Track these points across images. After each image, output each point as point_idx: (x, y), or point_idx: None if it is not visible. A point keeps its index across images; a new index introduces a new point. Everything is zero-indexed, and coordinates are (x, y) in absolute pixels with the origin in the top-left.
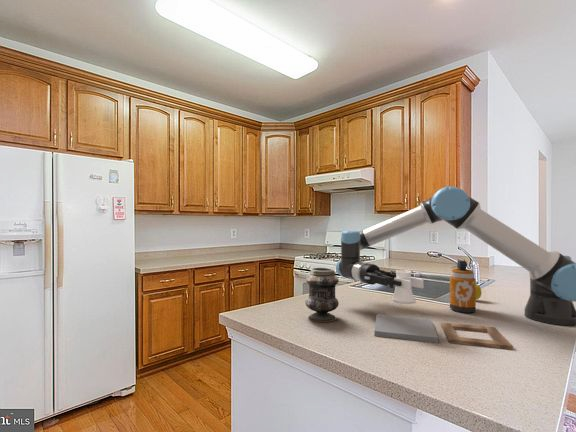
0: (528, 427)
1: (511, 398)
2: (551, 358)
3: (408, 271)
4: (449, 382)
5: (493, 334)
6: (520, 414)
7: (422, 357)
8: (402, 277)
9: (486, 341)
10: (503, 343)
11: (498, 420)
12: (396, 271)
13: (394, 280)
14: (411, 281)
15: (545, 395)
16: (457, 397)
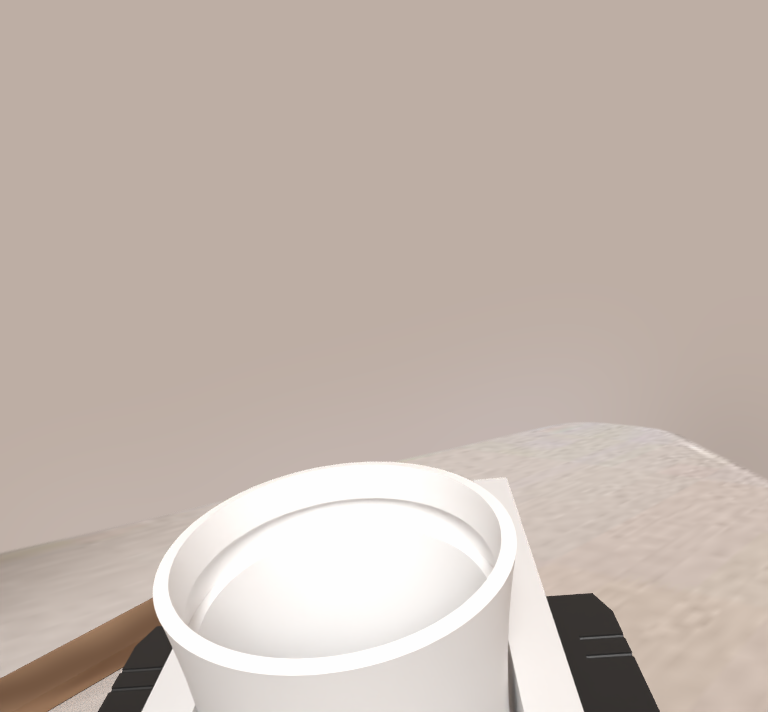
0: (626, 425)
1: (564, 463)
2: (185, 529)
3: (187, 561)
4: (686, 524)
5: (57, 677)
6: (603, 440)
7: (677, 662)
8: (469, 577)
9: None
10: None
11: (673, 438)
12: (513, 566)
13: (627, 689)
14: (477, 483)
15: (468, 457)
16: (715, 485)
